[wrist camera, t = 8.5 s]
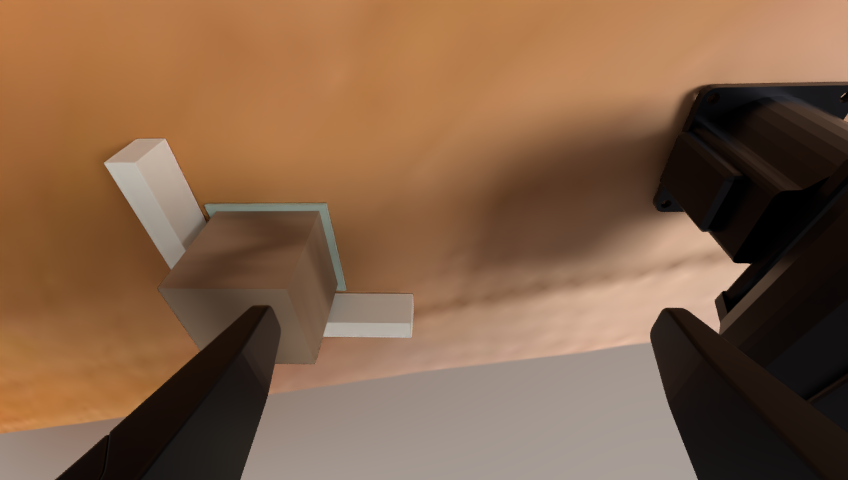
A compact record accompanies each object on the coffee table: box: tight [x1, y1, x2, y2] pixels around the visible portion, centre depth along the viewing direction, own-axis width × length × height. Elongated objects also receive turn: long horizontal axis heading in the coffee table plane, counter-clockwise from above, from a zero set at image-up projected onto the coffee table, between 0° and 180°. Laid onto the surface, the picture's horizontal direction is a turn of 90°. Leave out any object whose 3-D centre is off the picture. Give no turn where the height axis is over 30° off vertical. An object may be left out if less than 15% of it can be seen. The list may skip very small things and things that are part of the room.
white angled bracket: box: [104, 138, 414, 338], centre depth 23 cm, size 14×14×2 cm
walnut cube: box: [157, 211, 338, 364], centre depth 22 cm, size 6×6×6 cm
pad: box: [204, 203, 346, 291], centre depth 24 cm, size 7×7×1 cm
